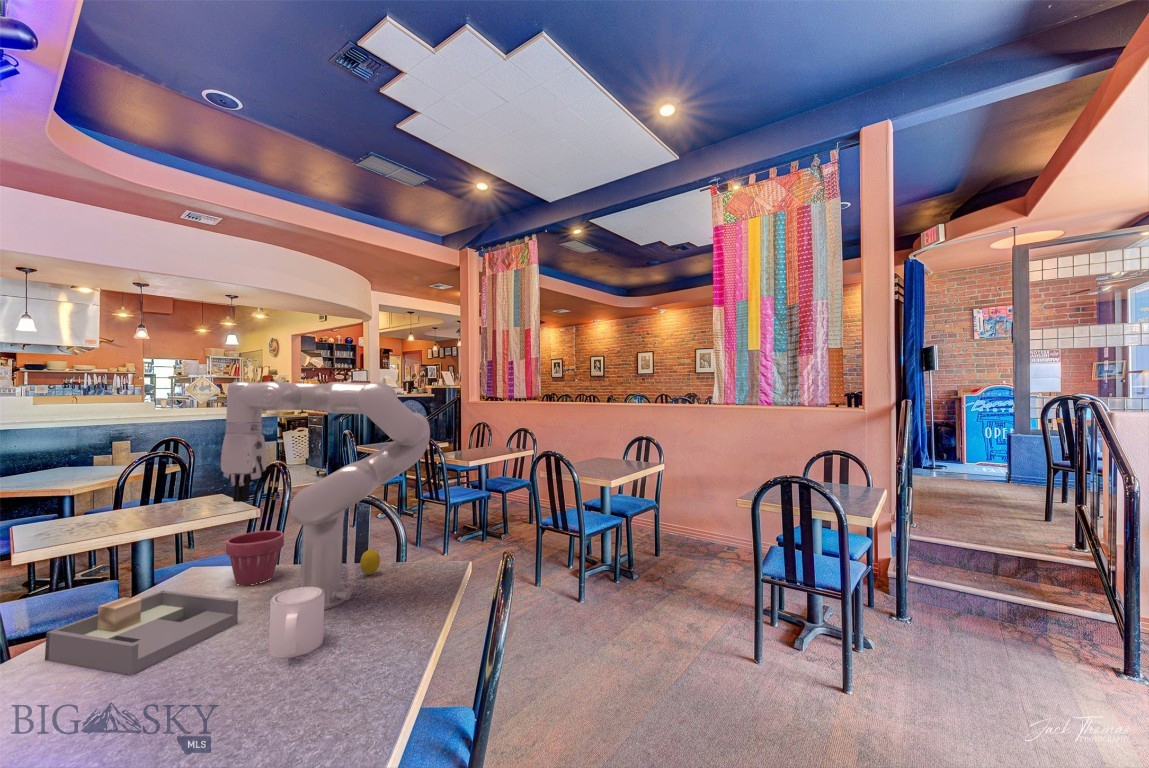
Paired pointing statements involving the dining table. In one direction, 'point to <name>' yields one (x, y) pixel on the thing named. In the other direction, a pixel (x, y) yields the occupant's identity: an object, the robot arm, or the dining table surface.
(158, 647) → the box
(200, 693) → the dining table surface
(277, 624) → the mug
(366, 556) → the lemon
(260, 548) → the plant pot
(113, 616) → the maple block
